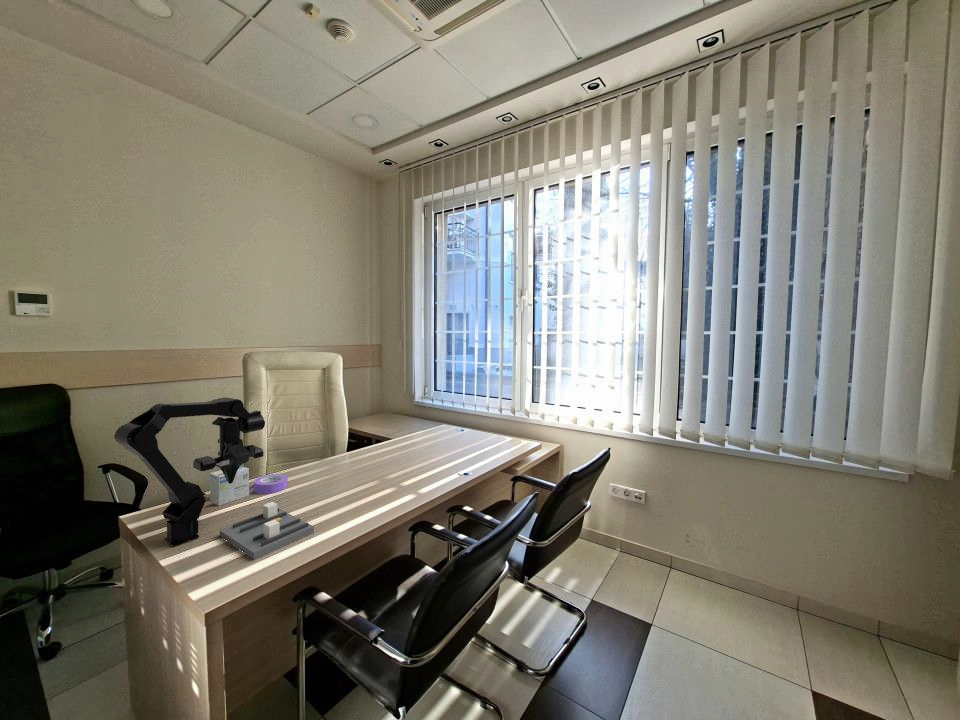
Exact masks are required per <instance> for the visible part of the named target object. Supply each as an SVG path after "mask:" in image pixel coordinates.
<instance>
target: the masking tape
mask: <svg viewBox="0 0 960 720" xmlns="http://www.w3.org/2000/svg"><path fill="white" fill-rule="evenodd" d="M288 478H289V477H288V476H287V475H286V474H281V473H279V474H278V473H275V474H274V473H273V474H266V475H262V476H259V477H257V478H256V479H254V480H253V492H254V493H255V494H258V495H270V494H271V495H272V494H276V493H281V492H283V491H284V490H286V489H288V485H289V484H288V482H289V481H288ZM282 490H283V491H282Z"/></svg>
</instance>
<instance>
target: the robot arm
mask: <svg viewBox="0 0 960 720" xmlns="http://www.w3.org/2000/svg"><path fill="white" fill-rule="evenodd" d="M261 412H262V411H260V410H253V411H251V412H249V411H248V410H247V409H246V408H245V406H244V402H243V401H242V400H241V399H237V398H234V397H233V398H231V397H224V396H223V397H220V398H215V399H212V400H209V401H203V402H202V401H201V402H199V401H198V402H179V403H178V402H177V403H163V402H161V403H157V404H154V405H153V406H151V408H149V409H147V410H146V411H144V412H142V413H140V414H139V415H137V416H135V417H134V418H132V419H131V420H130V421H128V422H127V423H125V424H123V425H120V426H119V427H118V428H117V430H116V431H115V433H114V435H113V437H114V440H115V442H116V443H118V444H119V445H120V446H122V447H123V448H125V449H126V450H128V452H131V453H132V454H134V455H136V456H137V457H138V458H139V459H140V460H141V461H142V462H143V464H144V465H145V466H146V467H147V468H148V470H149V471H150V472H151V473H152V474H153V476H154V477H155V478H156V479H157V480H158V481H159V483H160V484H161V485H162V486H163V488H165V490H166V491H167V495H168V500H169V503H170V504H168V506H166V508H165V509H164V510H163V512H162V516H163V518H164V519H166V537H164V541H165V542H166V541H167V542H166V543H168V544H169V545H170V546H171V547H177V546H180V545H182V543H183V544H185V543H187V541H188V542H190V541H189V540H191V541H193V539H194V540H196V539H199V538H198V537H200V535H199V518H200V517H201V516H200V515H201V513H202V510H203V508H204V506H205V503H206V501H207V499H206V498H207V497H205V496H206V495H207V493H205V492H203V491H202V489H201V487H200V485H199V484H196V483H193V482H190V481H185V480H184V479H183V478H182V476H181V475H180V474H179V472H177V470H176V468H175V467H173V465H172V464H171V462H169V460H168V459H167V458H166V457H165V455H164V454H163V453H162V452H161V451H160V448H159V443H158V438H157V435H158V434H159V433H160V432H161V431H162V430H163V429H164V427H165V426H166V423H167V422H169V420H171V419H173V418H174V419H176V418H186V417H188V418H189V417H199V416H218V417H216V419H214V421H212V422H211V425H212V426H219V438H218V439H217V443H218V444H219V451H217V455H218V456H217V457H212V456H209V455H207V456H201V457H196V458H195V459H194V460H193V462H192V463H193V464H192V466H193V467H192V468H194V469H195V470H197V471H199V472H205V471H209V470H213V469H215V468H216V467H217V468H219V469H220V470H221V471H222V472H223V474H224V476H225V478H226V480H227V482H228V483H229V484H231V483H233V480H234V478H235V475H236V473H237V471H238V469H239V467H240V466H243V464H245V463H249V461H250V458H251V457H252V458H253V459H258V458H262V457H264V449H263V448H262V447H259V446H256V445H254V444H250V445H244V441H243V438H242V439H241V437H242V436H241V432H242V433H243V434H248V433H253V432H257V431H261V430H263V429H264V428H265V425H266V420H265V417H264V416H263V415H262V414H261ZM224 417H225V418H224ZM195 538H196V539H195ZM184 542H185V543H184ZM179 544H180V545H179ZM176 545H177V546H176Z"/></svg>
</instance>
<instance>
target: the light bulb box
mask: <svg viewBox="0 0 960 720" xmlns="http://www.w3.org/2000/svg"><path fill="white" fill-rule="evenodd" d="M209 488H210V489H209V490H210V491H209V493H210V495H209V497H210V502H211V503H212V504H214V505H216V506H218V507H221V506H223V505H225V504H229V503H231V502H234V501H238V500H241V499H244V498H247V497H249V496H250V468H249V467H245V466H243V465H241V466H240V467H239V469H238V471H237V473H236V475H235V478H234V480H233V483H231V484H229V483H228V482H227V480H226V478H225V476H224V474H223V472H222V471H221V469H220V470H217V471H212V472H210V473H209Z"/></svg>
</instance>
